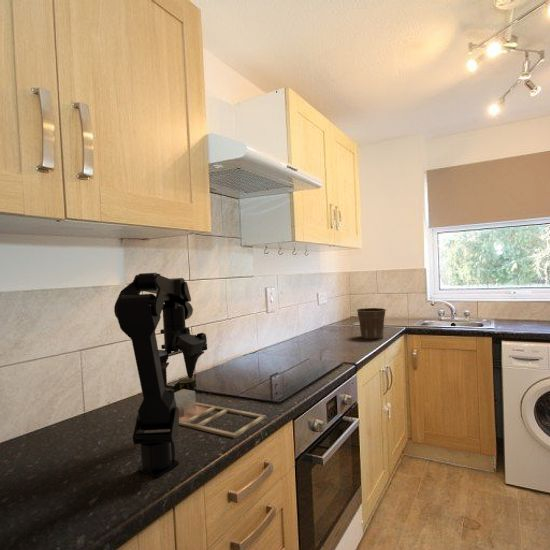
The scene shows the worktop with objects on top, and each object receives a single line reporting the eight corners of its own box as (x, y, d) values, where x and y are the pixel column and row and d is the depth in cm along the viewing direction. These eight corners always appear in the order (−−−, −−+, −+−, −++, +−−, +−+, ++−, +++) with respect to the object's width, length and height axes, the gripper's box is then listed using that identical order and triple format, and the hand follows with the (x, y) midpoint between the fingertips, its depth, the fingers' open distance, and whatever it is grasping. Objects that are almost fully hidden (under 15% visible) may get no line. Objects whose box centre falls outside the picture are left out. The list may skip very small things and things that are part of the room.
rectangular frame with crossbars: (234, 438, 96) (234, 435, 96) (149, 417, 113) (149, 415, 113) (266, 417, 108) (266, 415, 108) (184, 401, 125) (184, 399, 125)
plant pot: (390, 335, 220) (388, 307, 219) (383, 340, 206) (381, 311, 205) (362, 334, 228) (361, 307, 228) (354, 339, 214) (352, 311, 214)
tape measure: (181, 387, 142) (181, 377, 142) (199, 387, 141) (198, 377, 141) (173, 393, 135) (172, 383, 135) (191, 393, 134) (191, 383, 134)
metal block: (184, 416, 112) (182, 396, 112) (172, 413, 115) (171, 393, 114) (196, 410, 116) (195, 391, 116) (184, 408, 119) (183, 389, 119)
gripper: (168, 332, 89) (172, 397, 90) (220, 320, 105) (223, 376, 105) (137, 330, 95) (141, 391, 96) (191, 319, 111) (194, 372, 111)
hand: (177, 382), depth 102 cm, fingers open, 9 cm apart
